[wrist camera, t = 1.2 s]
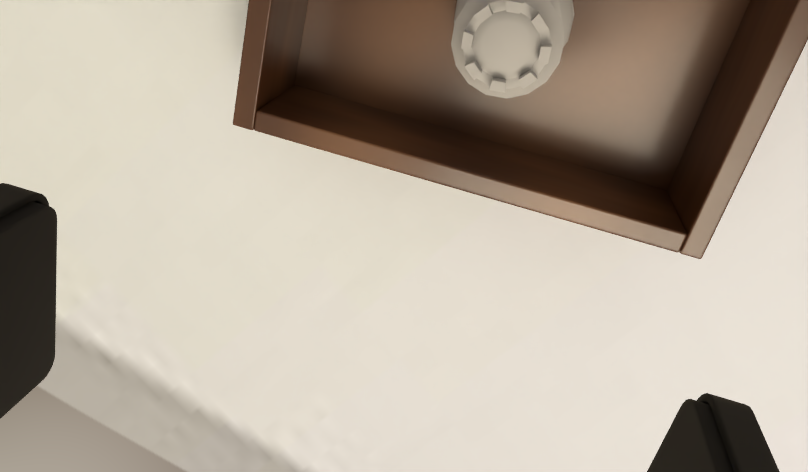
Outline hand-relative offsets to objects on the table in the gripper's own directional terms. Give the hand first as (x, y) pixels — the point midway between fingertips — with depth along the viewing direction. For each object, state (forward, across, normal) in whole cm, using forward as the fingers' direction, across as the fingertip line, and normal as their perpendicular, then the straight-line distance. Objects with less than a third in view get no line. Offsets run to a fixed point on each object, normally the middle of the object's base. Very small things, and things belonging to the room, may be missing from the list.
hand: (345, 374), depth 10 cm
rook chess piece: (+20, -1, -3) cm, 20 cm away
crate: (+20, -1, -3) cm, 21 cm away
